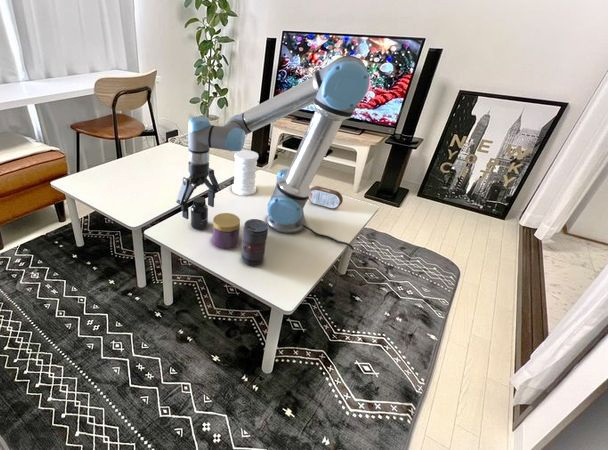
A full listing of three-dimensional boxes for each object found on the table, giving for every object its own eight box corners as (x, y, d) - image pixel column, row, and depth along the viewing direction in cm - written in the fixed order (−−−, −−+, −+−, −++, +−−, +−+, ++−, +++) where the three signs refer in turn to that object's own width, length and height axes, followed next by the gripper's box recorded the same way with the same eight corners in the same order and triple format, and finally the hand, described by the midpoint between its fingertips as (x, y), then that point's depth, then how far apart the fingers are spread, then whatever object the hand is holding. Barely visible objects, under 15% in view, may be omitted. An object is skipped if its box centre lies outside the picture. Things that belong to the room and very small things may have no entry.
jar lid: (242, 219, 128) (242, 215, 127) (236, 234, 120) (236, 229, 119) (217, 215, 130) (217, 211, 129) (209, 229, 122) (209, 224, 121)
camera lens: (258, 270, 115) (262, 234, 107) (236, 262, 119) (239, 226, 111) (267, 258, 121) (272, 222, 113) (247, 250, 124) (250, 215, 116)
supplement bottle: (205, 231, 135) (206, 205, 128) (189, 229, 136) (188, 203, 129) (209, 222, 140) (209, 196, 134) (193, 220, 142) (192, 194, 135)
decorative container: (230, 194, 161) (232, 158, 151) (233, 183, 171) (235, 149, 161) (255, 196, 160) (258, 160, 150) (256, 185, 169) (259, 150, 159)
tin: (340, 209, 150) (345, 192, 146) (338, 212, 148) (343, 194, 143) (307, 200, 157) (310, 183, 152) (305, 202, 155) (308, 186, 150)
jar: (241, 236, 132) (243, 216, 127) (235, 251, 124) (236, 230, 119) (216, 232, 135) (217, 212, 130) (209, 246, 127) (209, 226, 122)
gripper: (215, 150, 132) (214, 197, 144) (165, 167, 118) (167, 219, 130) (229, 155, 128) (227, 204, 140) (178, 174, 113) (180, 227, 125)
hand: (198, 211), depth 135 cm, fingers open, 13 cm apart
